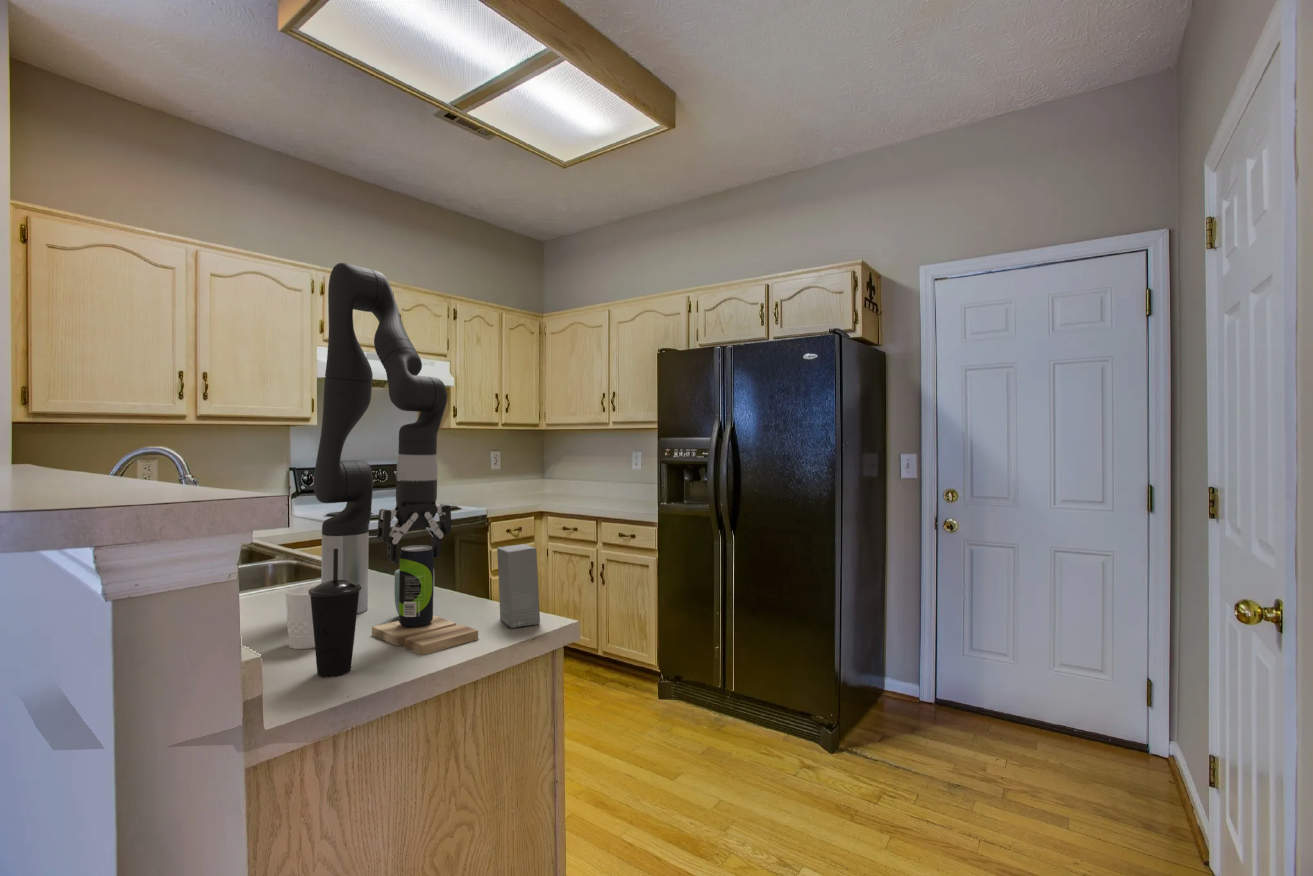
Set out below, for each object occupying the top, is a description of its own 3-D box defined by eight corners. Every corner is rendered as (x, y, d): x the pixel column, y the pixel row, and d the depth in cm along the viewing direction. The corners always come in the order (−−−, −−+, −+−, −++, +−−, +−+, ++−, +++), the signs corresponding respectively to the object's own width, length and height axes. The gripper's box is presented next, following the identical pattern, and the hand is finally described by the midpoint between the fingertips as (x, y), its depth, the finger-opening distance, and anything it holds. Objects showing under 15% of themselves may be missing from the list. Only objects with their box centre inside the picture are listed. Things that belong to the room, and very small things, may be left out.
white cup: (326, 634, 119) (326, 582, 119) (339, 643, 114) (340, 589, 114) (279, 643, 114) (280, 589, 114) (291, 653, 108) (292, 597, 108)
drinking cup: (320, 664, 103) (322, 545, 103) (367, 663, 104) (369, 544, 104) (297, 681, 96) (299, 553, 96) (348, 680, 96) (350, 553, 97)
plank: (371, 634, 119) (371, 626, 119) (429, 621, 128) (429, 613, 128) (397, 646, 112) (398, 637, 113) (456, 631, 122) (456, 622, 122)
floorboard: (401, 646, 113) (401, 636, 113) (457, 631, 121) (457, 623, 121) (422, 655, 108) (422, 645, 108) (478, 639, 117) (478, 630, 117)
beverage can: (438, 623, 121) (439, 547, 121) (408, 630, 116) (409, 551, 116) (422, 617, 125) (423, 543, 125) (392, 624, 120) (393, 547, 120)
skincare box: (540, 625, 126) (541, 548, 127) (506, 630, 123) (507, 550, 123) (528, 614, 134) (528, 542, 134) (495, 619, 130) (496, 544, 131)
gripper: (439, 475, 128) (437, 552, 128) (371, 477, 117) (369, 562, 117) (459, 477, 124) (457, 557, 124) (391, 480, 113) (389, 568, 113)
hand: (414, 559), depth 121 cm, fingers open, 8 cm apart
